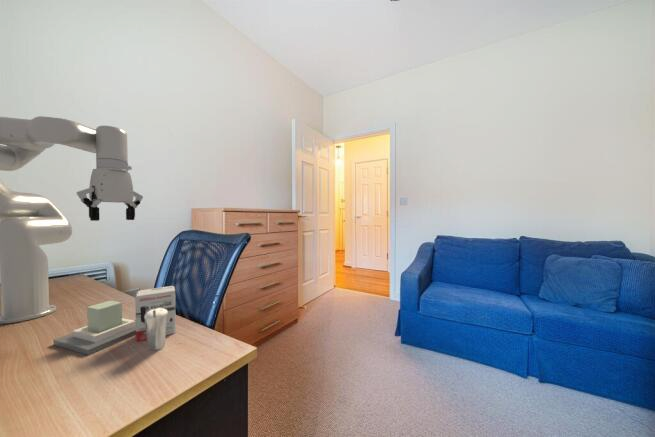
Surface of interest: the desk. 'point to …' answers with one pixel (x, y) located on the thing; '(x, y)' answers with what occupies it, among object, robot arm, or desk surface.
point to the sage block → (104, 316)
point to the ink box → (152, 301)
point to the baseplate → (96, 338)
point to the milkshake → (156, 328)
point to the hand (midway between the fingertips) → (113, 220)
